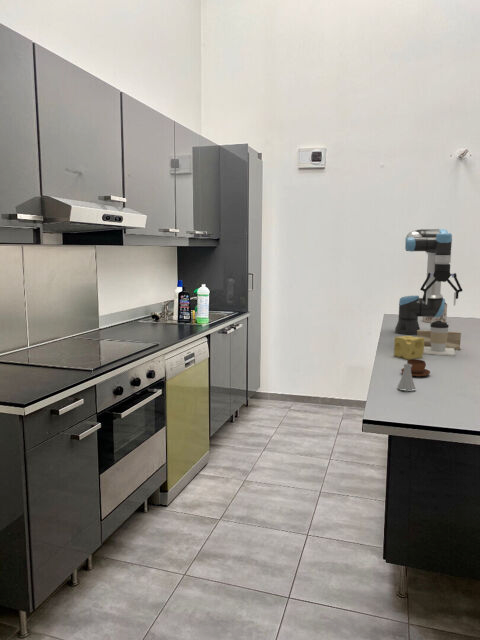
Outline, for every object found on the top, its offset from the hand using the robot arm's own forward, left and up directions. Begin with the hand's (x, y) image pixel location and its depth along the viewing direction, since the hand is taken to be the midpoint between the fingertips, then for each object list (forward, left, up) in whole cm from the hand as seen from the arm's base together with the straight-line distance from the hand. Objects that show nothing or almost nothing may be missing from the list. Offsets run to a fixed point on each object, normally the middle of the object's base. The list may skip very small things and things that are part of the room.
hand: (440, 304), depth 273 cm
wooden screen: (-9, +4, -25) cm, 27 cm away
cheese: (+11, -20, -25) cm, 34 cm away
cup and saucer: (+46, -31, -25) cm, 61 cm away
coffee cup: (+1, 0, -24) cm, 24 cm away
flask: (+68, -44, -25) cm, 85 cm away
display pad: (+1, 0, -25) cm, 25 cm away
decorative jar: (-96, +43, -25) cm, 108 cm away
